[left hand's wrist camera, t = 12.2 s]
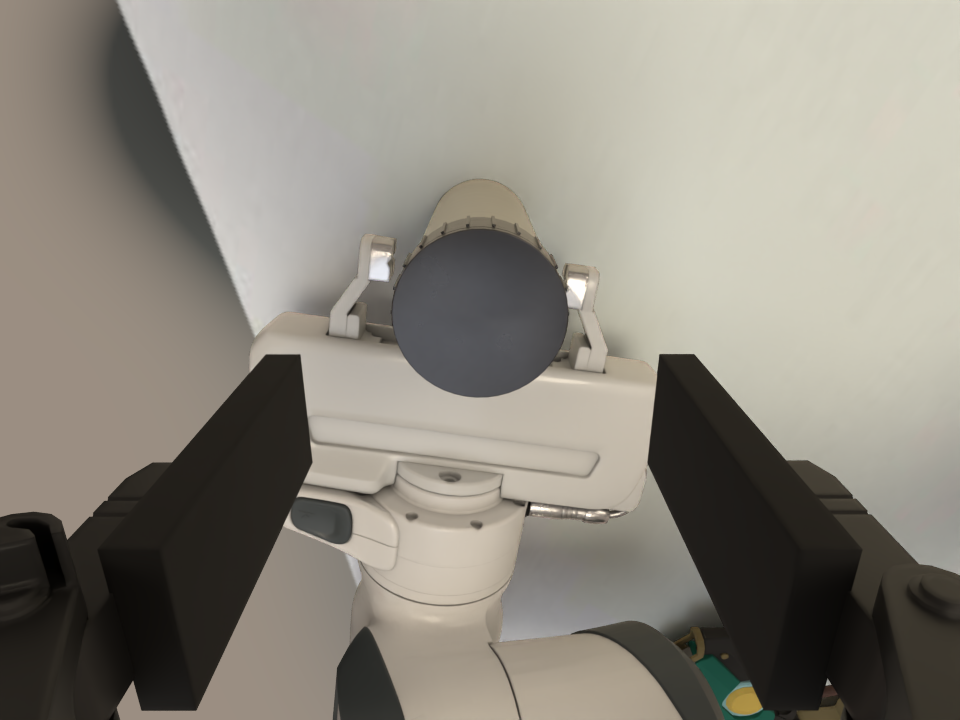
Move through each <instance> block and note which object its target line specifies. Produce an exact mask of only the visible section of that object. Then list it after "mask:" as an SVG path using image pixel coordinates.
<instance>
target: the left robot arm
mask: <svg viewBox="0 0 960 720" xmlns="http://www.w3.org/2000/svg"><path fill="white" fill-rule="evenodd" d="M312 463H313V461H312V452H311V443H310V434H309V425H308V416H307V408H306V399H305V390H304V381H303V372H302V363H301V355H300V354H266V355H265V356H264V357H263V358H262V359H261V360H260V362H259V363H258V364H257V365H256V366H255V367H254V368H253V370H252V371H251V372H250V373H249V374H248V375H247V377H246V378H245V379H244V380H243V381H242V382H241V384H240V385H239V386H238V387H237V388H236V389H235V390H234V392H233V393H232V394H231V395H230V396H229V398H228V399H227V400H226V401H225V402H224V403H223V404H222V406H221V407H220V408H219V409H218V410H217V411H216V412H215V414H214V415H213V416H212V417H211V418H210V419H209V421H208V422H207V423H206V424H205V425H204V426H203V428H202V429H201V430H200V431H199V432H198V433H197V434H196V436H195V437H194V438H193V439H192V440H191V441H190V443H189V444H188V445H187V446H186V447H185V448H184V450H183V451H182V452H181V453H180V454H179V455H178V457H177V458H176V459H175V460H174V461H173V462H172V463H151V464H149V465H148V466H146V467H144V468H143V469H141V470H139V471H138V472H136V473H134V474H133V475H131V476H129V477H128V478H126V479H125V480H124V481H123V482H122V483H121V484H120V485H119V486H118V487H117V488H116V489H115V490H114V491H113V493H112V494H111V495H110V496H109V497H108V501H104V502H103V503H102V504H101V505H100V506H99V507H98V508H97V509H96V510H95V511H94V513H93V517H89V518H88V519H87V520H86V521H85V522H84V523H83V524H82V525H81V526H80V527H79V528H78V529H77V530H76V531H75V532H74V534H73V535H72V536H71V537H70V538H69V539H68V540H67V538H66V535H65V532H64V528H63V525H62V521H61V520H60V519H58V518H57V517H55V516H53V515H52V514H47V513H39V512H28V513H18V514H10V515H7V516H4V517H0V720H120V718H119V715H118V711H117V706H118V704H119V703H120V701H121V699H122V698H123V696H124V694H125V693H126V691H127V689H128V688H129V686H130V684H131V683H132V681H134V685H135V689H136V692H137V696H138V699H139V703H140V707H141V710H142V711H196V710H197V708H198V706H199V704H200V702H201V700H202V697H203V695H204V693H205V691H206V689H207V687H208V685H209V682H210V680H211V678H212V676H213V674H214V672H215V670H216V668H217V665H218V663H219V661H220V659H221V657H222V655H223V653H224V651H225V648H226V646H227V644H228V642H229V640H230V638H231V636H232V634H233V631H234V629H235V627H236V625H237V623H238V621H239V619H240V616H241V614H242V612H243V610H244V608H245V606H246V604H247V602H248V599H249V597H250V595H251V593H252V591H253V589H254V587H255V584H256V582H257V580H258V578H259V576H260V574H261V572H262V570H263V567H264V565H265V563H266V561H267V559H268V557H269V555H270V553H271V550H272V548H273V546H274V544H275V542H276V540H277V538H278V535H279V533H280V531H281V529H282V527H283V525H284V523H285V521H286V518H287V516H288V514H289V512H290V510H291V508H292V506H293V504H294V501H295V499H296V497H297V495H298V493H299V491H300V489H301V487H302V484H303V482H304V480H305V478H306V476H307V474H308V472H309V469H310V467H311V465H312ZM647 463H648V465H649V467H650V469H651V472H652V474H653V476H654V478H655V480H656V482H657V484H658V487H659V489H660V491H661V493H662V495H663V497H664V499H665V501H666V504H667V506H668V508H669V510H670V512H671V514H672V516H673V518H674V521H675V523H676V525H677V527H678V529H679V531H680V533H681V536H682V538H683V540H684V542H685V544H686V546H687V548H688V550H689V553H690V555H691V557H692V559H693V561H694V563H695V565H696V567H697V570H698V572H699V574H700V576H701V578H702V580H703V582H704V585H705V587H706V589H707V591H708V593H709V595H710V597H711V599H712V602H713V604H714V606H715V608H716V610H717V612H718V614H719V616H720V619H721V621H722V623H723V625H724V627H725V629H726V631H727V634H728V636H729V638H730V640H731V642H732V644H733V646H734V648H735V651H736V653H737V655H738V657H739V659H740V661H741V663H742V665H743V668H744V670H745V672H746V674H747V676H748V678H749V680H750V683H751V685H752V687H753V689H754V691H755V693H756V695H757V697H758V700H759V702H760V704H761V706H762V708H763V710H764V711H818V710H819V707H820V703H821V699H822V696H823V692H824V689H825V685H826V681H827V678H828V680H829V681H830V683H831V684H832V686H833V688H834V689H835V691H836V693H837V694H838V696H839V698H840V699H841V701H842V703H843V704H844V708H843V711H842V715H841V718H840V720H960V575H958V574H956V573H953V572H949V571H946V570H943V569H940V568H937V567H934V566H929V565H921V564H918V563H917V562H916V561H915V560H914V559H913V558H912V557H911V556H910V554H909V553H908V552H907V551H906V550H905V549H904V548H903V547H902V546H901V545H900V544H899V543H898V542H897V541H896V540H895V539H894V538H893V537H892V536H891V535H890V534H889V533H888V532H887V530H886V529H885V528H884V527H883V526H882V525H881V524H880V523H879V522H878V521H877V520H876V519H875V518H874V517H873V516H872V515H868V513H867V510H866V509H865V508H864V506H863V505H862V504H861V503H860V502H859V501H858V500H857V499H853V497H852V496H853V495H852V494H851V493H850V492H849V491H848V490H847V489H846V488H845V487H844V486H843V485H842V484H841V482H840V481H839V480H838V479H837V478H836V477H835V476H833V475H831V474H830V473H828V472H826V471H825V470H823V469H821V468H820V467H818V466H816V465H814V464H813V463H811V462H809V461H786V460H785V459H784V458H783V456H782V455H781V454H780V453H779V452H778V451H777V450H776V448H775V447H774V446H773V445H772V444H771V443H770V441H769V440H768V439H767V438H766V437H765V436H764V434H763V433H762V432H761V431H760V430H759V429H758V428H757V426H756V425H755V424H754V423H753V422H752V421H751V419H750V418H749V417H748V416H747V415H746V414H745V412H744V411H743V410H742V409H741V408H740V407H739V406H738V404H737V403H736V402H735V401H734V400H733V399H732V397H731V396H730V395H729V394H728V393H727V392H726V390H725V389H724V388H723V387H722V386H721V385H720V384H719V382H718V381H717V380H716V379H715V378H714V377H713V375H712V374H711V373H710V372H709V371H708V370H707V368H706V367H705V366H704V365H703V364H702V363H701V362H700V360H699V359H698V358H697V357H696V356H695V355H694V354H660V355H659V363H658V372H657V381H656V390H655V399H654V408H653V416H652V425H651V434H650V443H649V452H648V461H647Z"/></svg>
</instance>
